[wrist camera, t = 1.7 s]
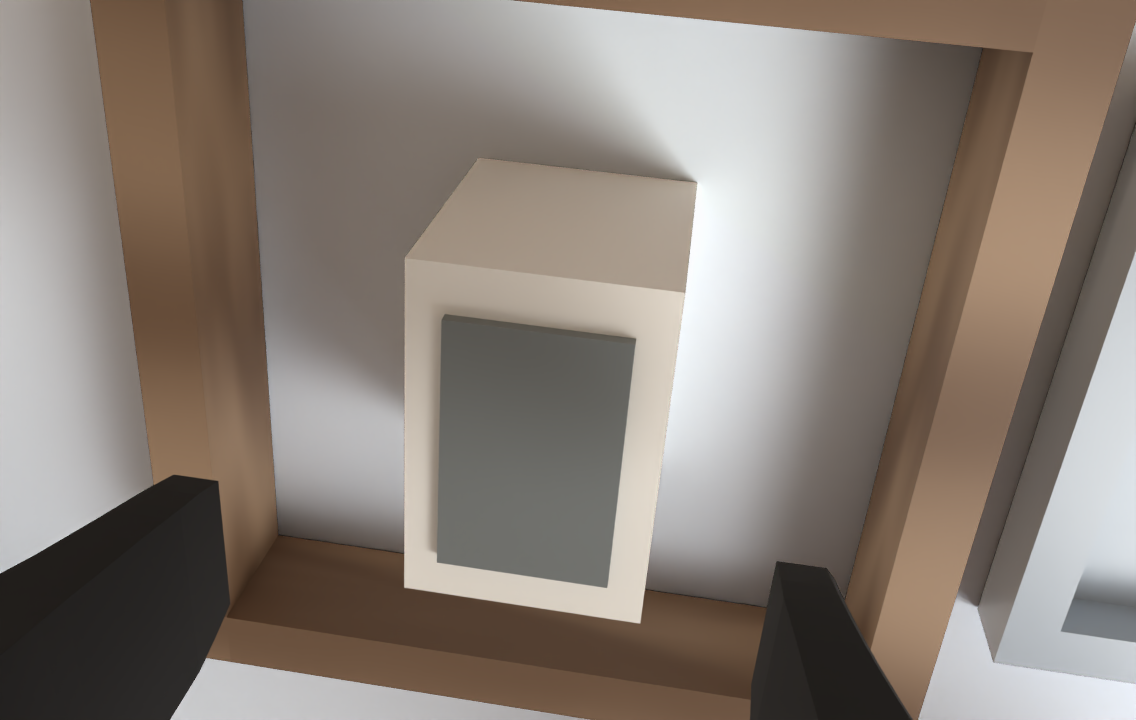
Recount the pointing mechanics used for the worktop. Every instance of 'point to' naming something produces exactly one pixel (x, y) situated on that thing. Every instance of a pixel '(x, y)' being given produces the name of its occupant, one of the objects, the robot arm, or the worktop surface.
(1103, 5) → the open case
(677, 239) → the block
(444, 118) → the worktop surface
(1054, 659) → the tray
